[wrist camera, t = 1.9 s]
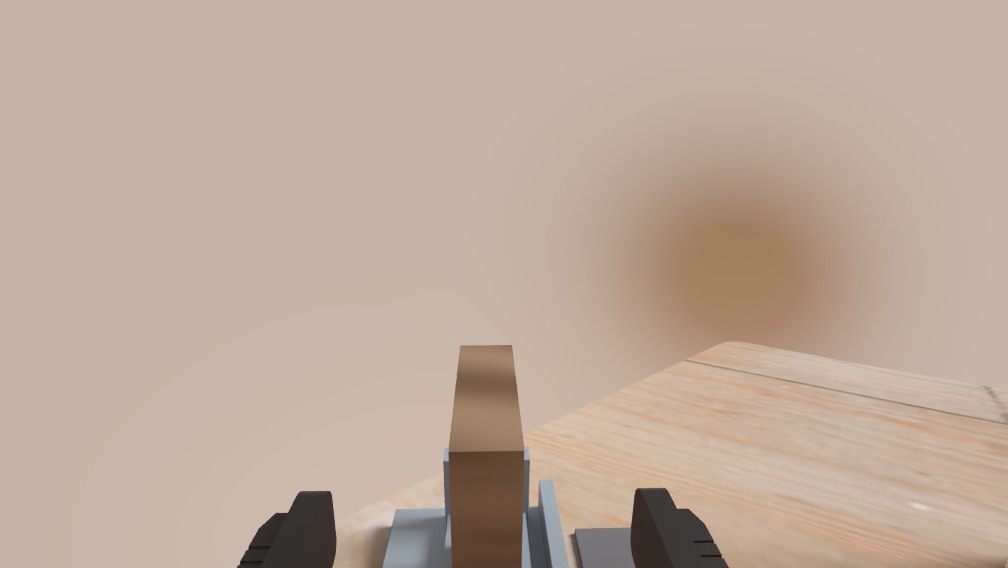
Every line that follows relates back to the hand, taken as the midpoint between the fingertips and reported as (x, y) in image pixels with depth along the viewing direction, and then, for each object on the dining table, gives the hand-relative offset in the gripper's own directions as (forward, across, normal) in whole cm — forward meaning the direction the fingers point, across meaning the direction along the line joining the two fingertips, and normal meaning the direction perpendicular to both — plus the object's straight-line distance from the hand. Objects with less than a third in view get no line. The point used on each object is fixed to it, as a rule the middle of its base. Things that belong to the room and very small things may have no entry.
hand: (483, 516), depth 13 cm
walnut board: (+11, 0, +18) cm, 22 cm away
